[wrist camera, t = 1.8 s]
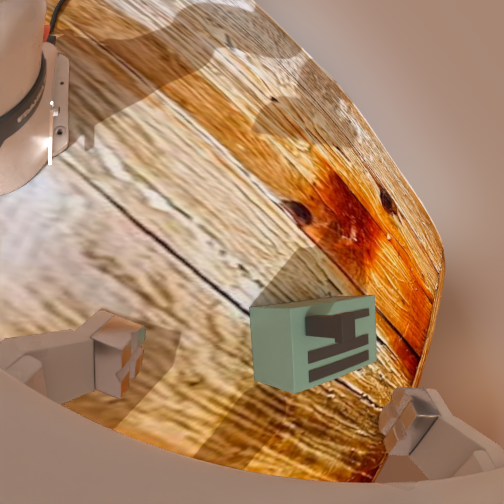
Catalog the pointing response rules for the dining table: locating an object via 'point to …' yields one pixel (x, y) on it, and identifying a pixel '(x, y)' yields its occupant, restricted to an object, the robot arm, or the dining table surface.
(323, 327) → the slide switch
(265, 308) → the toaster
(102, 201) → the dining table surface
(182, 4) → the dining table surface
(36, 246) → the dining table surface
